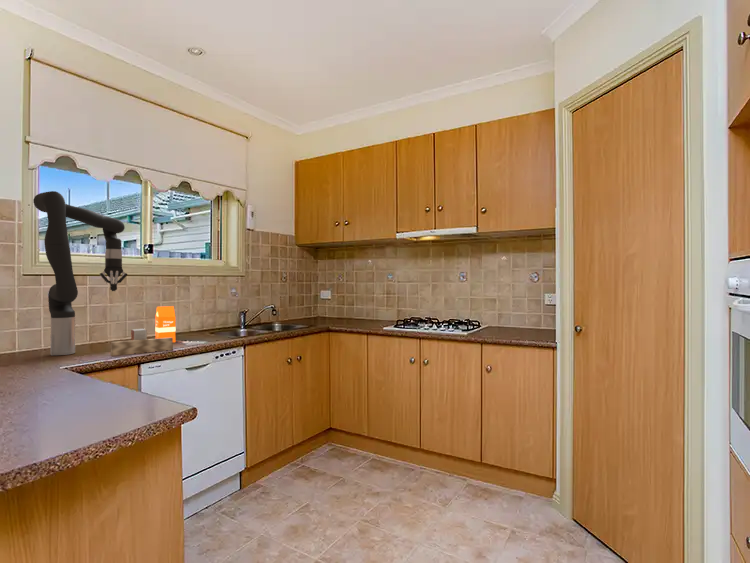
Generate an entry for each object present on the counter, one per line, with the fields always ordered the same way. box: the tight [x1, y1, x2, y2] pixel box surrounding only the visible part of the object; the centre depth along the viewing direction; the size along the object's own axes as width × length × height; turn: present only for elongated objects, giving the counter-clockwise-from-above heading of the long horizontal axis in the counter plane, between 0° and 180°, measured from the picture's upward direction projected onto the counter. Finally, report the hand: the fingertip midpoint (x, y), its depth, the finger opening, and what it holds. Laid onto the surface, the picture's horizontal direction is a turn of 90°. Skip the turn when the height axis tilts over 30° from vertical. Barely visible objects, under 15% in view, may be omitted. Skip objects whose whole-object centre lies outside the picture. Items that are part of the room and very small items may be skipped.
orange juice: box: [154, 305, 177, 343], centre depth 238 cm, size 8×9×20 cm
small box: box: [130, 328, 148, 341], centre depth 207 cm, size 8×6×10 cm
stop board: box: [110, 337, 174, 357], centre depth 204 cm, size 26×3×6 cm, turn 129°
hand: (113, 291), depth 222 cm, fingers closed
